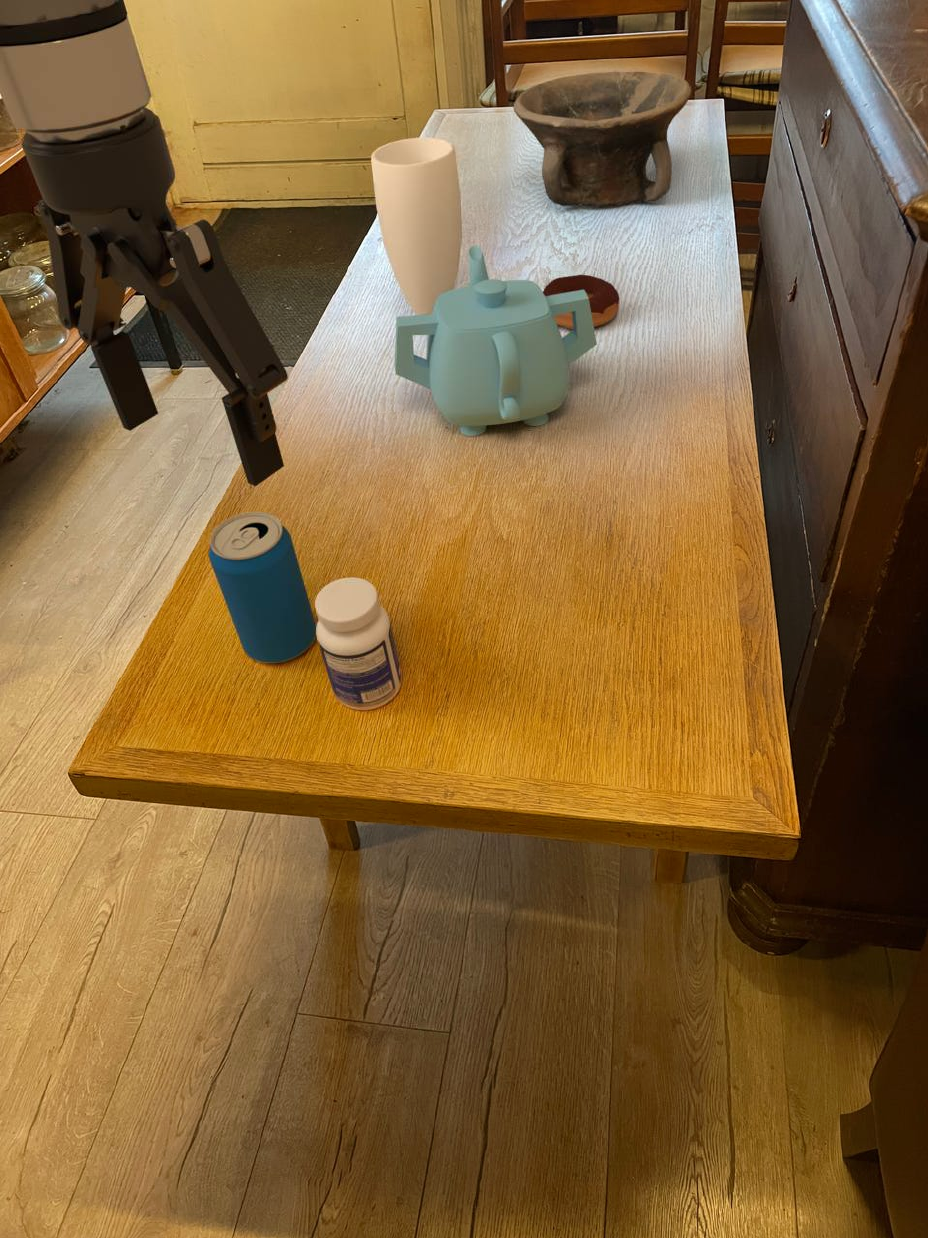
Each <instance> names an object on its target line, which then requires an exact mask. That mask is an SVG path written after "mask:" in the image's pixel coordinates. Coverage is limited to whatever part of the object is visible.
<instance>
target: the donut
mask: <svg viewBox="0 0 928 1238" xmlns="http://www.w3.org/2000/svg"><path fill="white" fill-rule="evenodd" d="M579 290H585V292H586V294H587V296H588V298H589V303H590V309H591V315H592V320H593V326H594V328H596V327H599V326H602V325H605V324H607V323H608V322H610V321H611V320H612V319H614V317H615V316H616V315H617V314H618V312H619V308H620V306H619V304H620V294H619V291H618V290H617V289H616V288H615V286H614V285H613V284H612V283H611V282H609V281H606V280H605V279H603V278H600V277H598V276H597V277H596V276H594V275H589V274H575V275H568V276H560V277H557V278H553V280H551V281H550V282H549V283H548V284H546V285H545V287H544V289H543V290H542V292H543V294H544V295H545V296H550V295H556V294H562V293H567V292H573V291H579ZM555 320H556V322H557V325H558V326H559V327H560V326H561V327H563V328H566V329H569V330H573V319H572V312H570V313H566V314H562V315H559V316H555Z"/></svg>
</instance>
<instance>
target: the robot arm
mask: <svg viewBox="0 0 928 1238" xmlns="http://www.w3.org/2000/svg"><path fill="white" fill-rule="evenodd" d="M0 97H1V99H2V102H3V104H4V107H5V110H6V111H7V114H8V116H9V120H10V121H11V124H12V125H13V126H14V127H16V128H17V129H19V130H22V131H25V133H24V135H23V140H22V142H21V148H22V150H23V152H24V156H25V158H26V160H27V163H28V165H29V168H30V170H31V173H32V176H33V178H34V180H35V183H36V186H37V188H38V190H39V194H40V195H41V197H42V199H41V200H39V201H37V208H38V211H39V214H40V217H41V219H42V220H41V221H42V222H43V225H44V228H45V231H46V234H47V239H48V246H49V247H48V248H49V251H50V252H49V254H50V262H51V268H52V276H53V283H54V290H55V297H56V304H57V305H56V306H57V312H58V318H59V321H60V324H61V325H62V327H64V328H65V329H66V330H68V331H71V330H73V329H76V330H77V333H78V335H79V337H80V339H81V340H82V341H83V342H84V344H86V345H89V346H90V349H91V352H92V354H93V357H94V359H95V362H96V365H97V367H98V369H99V372H100V374H101V376H102V379H103V382H104V384H105V386H106V388H107V390H108V393H109V395H110V398H111V401H112V403H113V405H114V408H115V410H116V412H117V413H116V414H117V415H118V417H119V420H120V422H121V425H122V427H123V429H124V430H126V431H129V432H131V431H132V430H134V429H136V428H138V427H139V426H141V425H142V424H144V423H145V422H148V421H150V419H152V418H154V417H155V416H157V415H159V411H158V409H157V406H156V403H155V400H154V398H153V395H152V392H151V389H150V387H149V385H148V382H147V379H146V376H145V374H144V371H143V368H142V366H141V363H140V360H139V358H138V355H137V352H136V349H135V347H134V344H133V342H132V339H131V337H130V333H128V332H126V331H123V330H122V331H120V332H118V333H116V334H115V332H116V331H117V330H119V329H121V328H123V327H125V326H126V325H127V322H124V319H123V318H122V317H121V316H122V311H123V306H124V302H125V298H126V293H127V288H131V289H132V290H134V291H135V292H136V293H139V294H141V295H144V296H145V297H146V299H147V300H148V301H149V303H150V304H151V305H152V306H153V307H154V309H157V310H161V311H165V312H166V313H167V314H168V316H169V317H170V318H171V319H172V321H173V322H174V323H175V324H176V326H177V327H178V328H179V329H180V331H181V332H182V334H183V335H184V337H185V338H186V339H187V341H188V342H189V343H190V344H191V346H192V347H193V348H194V350H195V351H196V352H197V353H198V355H199V356H200V357H201V358H202V360H203V361H204V363H205V364H206V365H207V367H208V368H209V370H211V372H212V373H213V375H214V376H215V377H216V378H217V380H218V381H219V382H220V383H221V385H222V387H224V389H225V390H226V391H227V393H226V394H225V395H223V396H222V397H221V402H222V404H223V408H224V411H225V414H226V416H227V420H228V423H229V427H230V430H231V433H232V436H233V440H234V443H235V446H236V449H237V452H238V455H239V459H240V462H241V465H242V468H243V471H244V475H245V478H246V482H247V483H248V484H249V485H252V486H253V487H257V486H258V485H260V484H261V483H263V482H264V481H266V480H267V479H268V478H270V477H272V476H273V475H274V474H275V473H277V472H279V471H280V470H281V469H282V468H284V467H285V464H284V460H283V456H282V453H281V449H280V445H279V442H278V438H277V435H276V433H277V424H276V420H275V417H274V413H273V409H272V405H271V402H270V397H269V393H270V392H272V391H273V390H274V389H276V388H278V387H279V386H281V385H282V384H283V383H285V382H286V381H288V379H289V375H288V372H287V370H286V368H285V366H284V365H283V363H282V361H281V359H280V358H279V356H278V354H277V351H276V350H275V349H274V347H273V345H272V343H271V342H270V339H269V337H268V336H267V334H266V332H265V331H264V329H263V327H262V325H261V324H260V321H259V320H258V319H257V317H256V314H255V313H254V311H253V309H252V307H251V306H250V304H249V302H248V301H247V298H246V297H245V295H244V293H243V291H242V289H241V288H240V286H239V284H238V283H237V281H236V279H235V277H234V276H233V274H232V272H231V270H230V268H229V267H228V265H227V263H226V261H225V259H224V256H223V253H222V250H221V247H220V245H219V241H218V239H217V236H216V233H215V230H214V228H213V226H212V225H211V223H210V222H209V221H208V220H206V219H204V218H202V219H200V220H198V221H196V222H194V223H191V224H190V225H187V226H186V225H178V223H177V222H176V220H175V218H174V216H173V214H172V213H171V211H170V208H169V206H168V204H167V196H168V193H169V191H170V189H171V187H172V186H173V184H174V182H175V179H176V171H175V167H174V164H173V161H172V157H171V153H170V150H169V146H168V143H167V140H166V137H165V133H164V129H163V126H162V122H161V119H160V117H159V116H158V115H157V114H156V113H154V111H153V110H152V109H150V108H147V106H148V105H149V103H150V102H151V99H152V92H151V88H150V85H149V83H148V78H147V76H146V72H145V70H144V66H143V62H142V59H141V56H140V52H139V50H138V46H137V43H136V39H135V35H134V33H133V30H132V27H131V24H130V20H129V17H128V10H127V7H126V3H125V1H124V0H0ZM177 272H178V275H179V277H180V278H179V279H177V280H175V278H176V274H177ZM174 280H175V281H174ZM80 301H81V302H80ZM78 302H80V303H78ZM77 303H78V304H77Z"/></svg>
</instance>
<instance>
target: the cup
mask: <svg viewBox="0 0 928 1238" xmlns="http://www.w3.org/2000/svg"><path fill="white" fill-rule="evenodd" d="M370 163H371V171H372V172H371V173H372V181H373V189H374V199H375V207H376V212H377V217H378V221H379V227H380V232H381V237H382V244H383V246H384V250H385V252H386V255H387V258H388V261H389V264H390V266H391V270H392V273H393V275H394V278H395V280H396V282H397V284H398V286H399V288H400V290H401V293H402V294H403V297H404V299H405V301H406V302H407V303H408V305H409V307H410V309H411V311H412V312H413V313H414V314H415V315H422V314H432V312H433V307H434V304H435V301H436V298H437V297H438V296H439V295H440V294H442V293H444V292H447V291H450V290H453V289H456V288H455V287H456V284H457V279H458V275H459V269H460V258H461V249H462V242H463V241H462V239H463V224H462V223H463V222H462V221H463V220H462V196H461V187H460V180H459V170H458V162H457V153H456V148H455V146H454V144H453V143H452V142H450V141H448V140H446V139H444V138H443V139H442V138H437V137H412V138H404V139H400V140H395V141H391V142H389V143H386V144H384V145H381V146H379V147H377V148H376V149H375V150H374V151H373V152H372V153H371V156H370Z"/></svg>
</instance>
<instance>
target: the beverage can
mask: <svg viewBox="0 0 928 1238" xmlns="http://www.w3.org/2000/svg"><path fill="white" fill-rule="evenodd" d="M208 559H209V562H210V564H211V567H212V570H213V572H214V575H215V578H216V580H217V583H218V586H219V588H220V591H221V594H222V596H223V599H224V602H225V604H226V607H227V610H228V612H229V616H230V618H231V620H232V624H233V626H234V628H235V631H236V634H237V636H238V639H239V641H240V645H241V647H242V650H243V651H244V653H245V654H246V655H247V657H249V658H250V659H252V660H254V661H256V662H260V663H265V664H276V663H277V664H278V663H284V662H288V661H290V660H293V659H294V658H297V657H298V656H300V655H302V654H303V653H304V652H305V651H307V650H308V649H309V648H310V647H311V645H312V644H313V643H314V640H315V639H316V637H317V635H316V627H317V623H316V620H315V616H314V614H313V610H312V607H311V602H310V599H309V596H308V592H307V589H306V584H305V581H304V578H303V575H302V571H301V567H300V564H299V561H298V557H297V553H296V550H295V547H294V543H293V540H292V536H291V534H290V532H289V530H288V529H287V528H286V527H285V526H284V525H283V524H282V523H281V521H280V519H279V518H278V517H276V516H275V515H274V514H271V513H269V512H265V511H247V512H242V513H238V514H234V515H233V516H230V517H228V518H226V519H224V520H223V521H221V522H220V523H219V524H218V525H217V526H216V527H215V528H214V529H213V531H212V532H211V534H210V537H209V550H208Z"/></svg>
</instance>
